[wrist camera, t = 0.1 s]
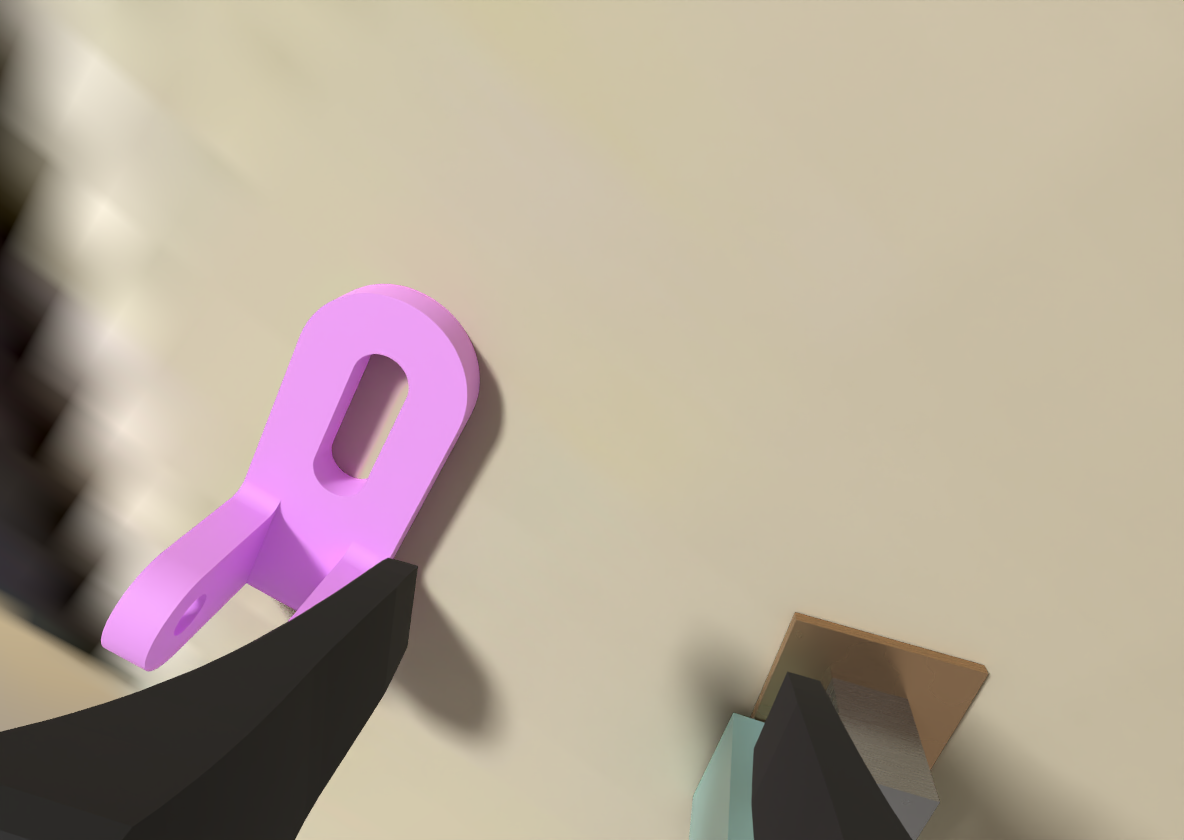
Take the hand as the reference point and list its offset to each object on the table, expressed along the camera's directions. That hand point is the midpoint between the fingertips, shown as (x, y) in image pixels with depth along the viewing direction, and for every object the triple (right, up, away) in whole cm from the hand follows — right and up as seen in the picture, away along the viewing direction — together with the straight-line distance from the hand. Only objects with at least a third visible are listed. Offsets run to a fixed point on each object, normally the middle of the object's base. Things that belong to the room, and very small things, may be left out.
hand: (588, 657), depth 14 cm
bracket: (-8, +3, +11) cm, 14 cm away
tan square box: (+9, -6, +12) cm, 16 cm away
